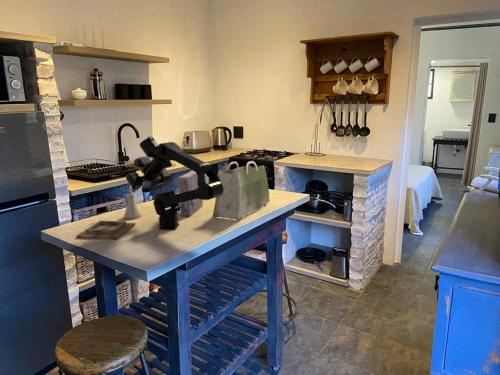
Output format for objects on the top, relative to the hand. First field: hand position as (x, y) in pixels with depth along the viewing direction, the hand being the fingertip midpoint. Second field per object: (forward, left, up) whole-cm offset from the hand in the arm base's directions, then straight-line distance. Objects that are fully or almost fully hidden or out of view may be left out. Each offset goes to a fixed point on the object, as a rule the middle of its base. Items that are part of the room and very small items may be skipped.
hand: (141, 189), depth 157 cm
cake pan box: (-17, -16, -14) cm, 27 cm away
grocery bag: (-40, -19, -14) cm, 47 cm away
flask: (+7, -4, -14) cm, 16 cm away
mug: (-14, -39, -14) cm, 44 cm away
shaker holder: (+9, +15, -14) cm, 22 cm away
